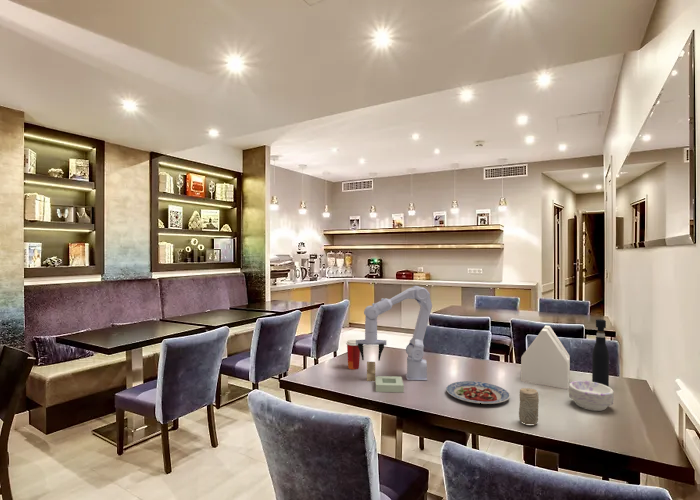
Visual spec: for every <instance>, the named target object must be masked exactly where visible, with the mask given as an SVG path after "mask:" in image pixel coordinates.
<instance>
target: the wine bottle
mask: <svg viewBox="0 0 700 500" xmlns="http://www.w3.org/2000/svg"><path fill="white" fill-rule="evenodd" d="M606 324H607V321H606V320H605V319H595V328H597V332H596V336H595V344H594V346H593V349H592V354H591V355H592V357H591V359H592V360H591V362H592V363H591V364H592V365H591V366H592V367H591V368H592V372H591V373H592V375H591V376H592V378H591V382H596V383H600V384H603V385H606V386H608V387H610V386H609V385H610V376H609V375H610V373H609V371H610V353H609V349H608V346H607V344H606V341H607V340H606V334H605V329H606V328H607V327H606V326H607V325H606Z"/></svg>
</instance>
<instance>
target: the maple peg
mask: <svg viewBox="0 0 700 500" xmlns="http://www.w3.org/2000/svg"><path fill="white" fill-rule="evenodd" d="M375 376H376V361H366V381H367V382H375Z"/></svg>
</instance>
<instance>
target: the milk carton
mask: <svg viewBox="0 0 700 500" xmlns="http://www.w3.org/2000/svg"><path fill="white" fill-rule="evenodd" d="M570 357H571V355H570V353H568V351H567V349H566V347H565V346H564V344H563V343H562V341H560V339H559V337H558V335H556V333H555V332H554V329H553V328H552V326H551V325H544V327H543V328H542V329H541V330H540V332H539V333H538V335H537V336H536V337H535V338H534V340H533V341H532V342H531V343H530V344H529V346H528V347H527V349H526V350H525V351H524V352H523V354H522V355H521V358H520V360H521V361H520V382H523V383H529V384H535V385H541V386H547V387H553V388H558V389H565V390H568V389H569V384H570V380H571V379H570V378H571V370H570V369H571V367H570V366H571V365H570V364H571V363H570V362H571V359H570Z"/></svg>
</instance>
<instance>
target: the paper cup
mask: <svg viewBox="0 0 700 500" xmlns="http://www.w3.org/2000/svg"><path fill="white" fill-rule="evenodd" d="M356 340H357V339H349V340H348V339H347V341H346V343H345V344H346V348H347V368H348V369H349V370H353V371H354V370H359V369H360V357H361V353H360V350H359V348H358V345H356Z"/></svg>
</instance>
